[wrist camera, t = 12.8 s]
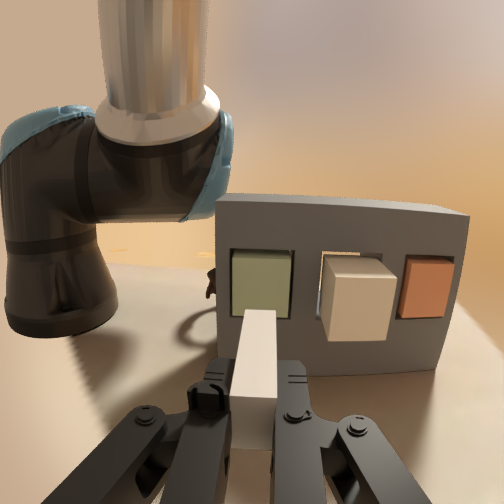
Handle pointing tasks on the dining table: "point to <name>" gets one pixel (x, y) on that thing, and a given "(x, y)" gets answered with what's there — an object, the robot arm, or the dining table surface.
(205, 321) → the dining table surface
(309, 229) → the console
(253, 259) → the sage button
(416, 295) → the terracotta button
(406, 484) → the robot arm
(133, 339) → the dining table surface
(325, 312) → the ivory button
